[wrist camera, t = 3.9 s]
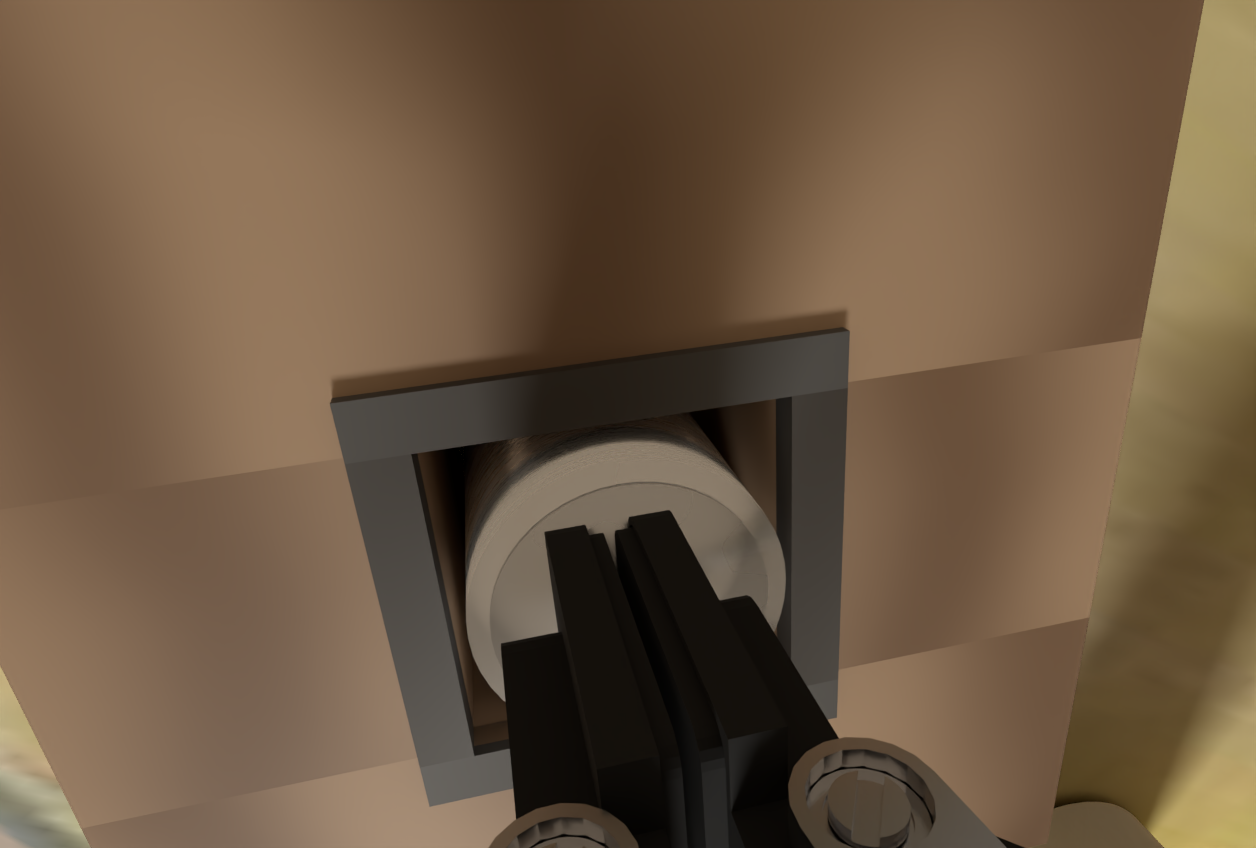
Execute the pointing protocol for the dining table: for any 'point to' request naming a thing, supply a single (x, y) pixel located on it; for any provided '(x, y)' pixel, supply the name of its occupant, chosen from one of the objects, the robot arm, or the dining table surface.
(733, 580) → the steel dowel
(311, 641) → the block
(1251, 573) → the dining table surface
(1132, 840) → the travel mug
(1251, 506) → the dining table surface
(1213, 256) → the dining table surface
